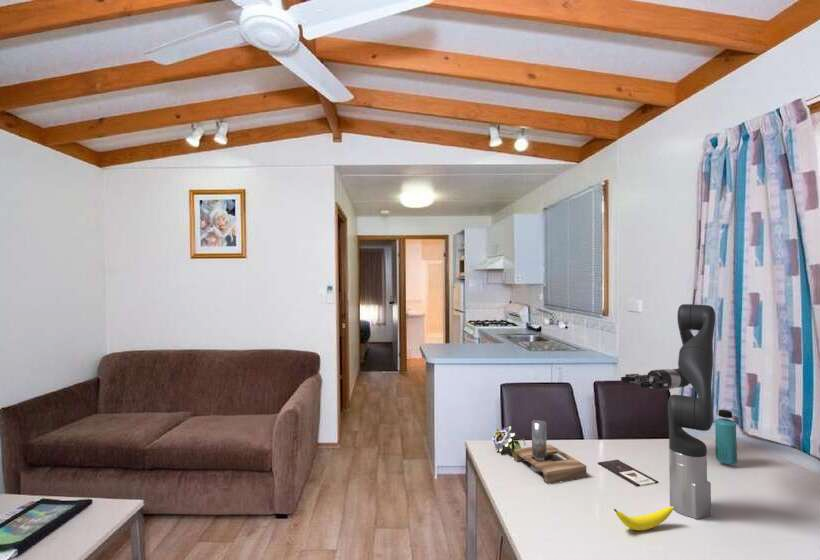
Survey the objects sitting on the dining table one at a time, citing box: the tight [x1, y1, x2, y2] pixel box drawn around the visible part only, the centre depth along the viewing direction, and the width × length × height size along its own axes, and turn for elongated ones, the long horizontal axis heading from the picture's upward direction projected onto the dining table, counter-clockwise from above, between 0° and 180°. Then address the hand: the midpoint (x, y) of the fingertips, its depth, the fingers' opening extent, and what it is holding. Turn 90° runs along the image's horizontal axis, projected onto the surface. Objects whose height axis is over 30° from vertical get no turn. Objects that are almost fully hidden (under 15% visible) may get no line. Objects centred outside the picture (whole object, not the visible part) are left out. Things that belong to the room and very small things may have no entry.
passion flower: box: [491, 425, 527, 457], centre depth 163 cm, size 11×11×12 cm
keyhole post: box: [530, 419, 548, 474], centre depth 147 cm, size 6×6×17 cm
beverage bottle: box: [714, 409, 739, 466], centre depth 151 cm, size 6×7×20 cm
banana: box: [613, 506, 674, 531], centre depth 111 cm, size 3×19×6 cm, turn 102°
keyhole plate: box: [513, 444, 587, 485], centre depth 148 cm, size 20×16×4 cm
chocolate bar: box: [597, 459, 659, 488], centre depth 144 cm, size 9×1×18 cm
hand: (630, 382), depth 153 cm, fingers open, 8 cm apart
